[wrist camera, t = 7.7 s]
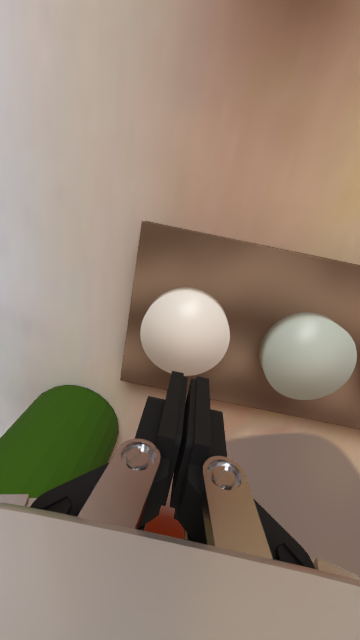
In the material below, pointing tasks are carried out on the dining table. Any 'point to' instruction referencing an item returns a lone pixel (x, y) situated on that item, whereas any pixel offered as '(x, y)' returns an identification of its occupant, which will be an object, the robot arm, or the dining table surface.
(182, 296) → the cream button
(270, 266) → the button board
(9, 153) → the dining table surface
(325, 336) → the sage button
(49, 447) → the wine bottle
